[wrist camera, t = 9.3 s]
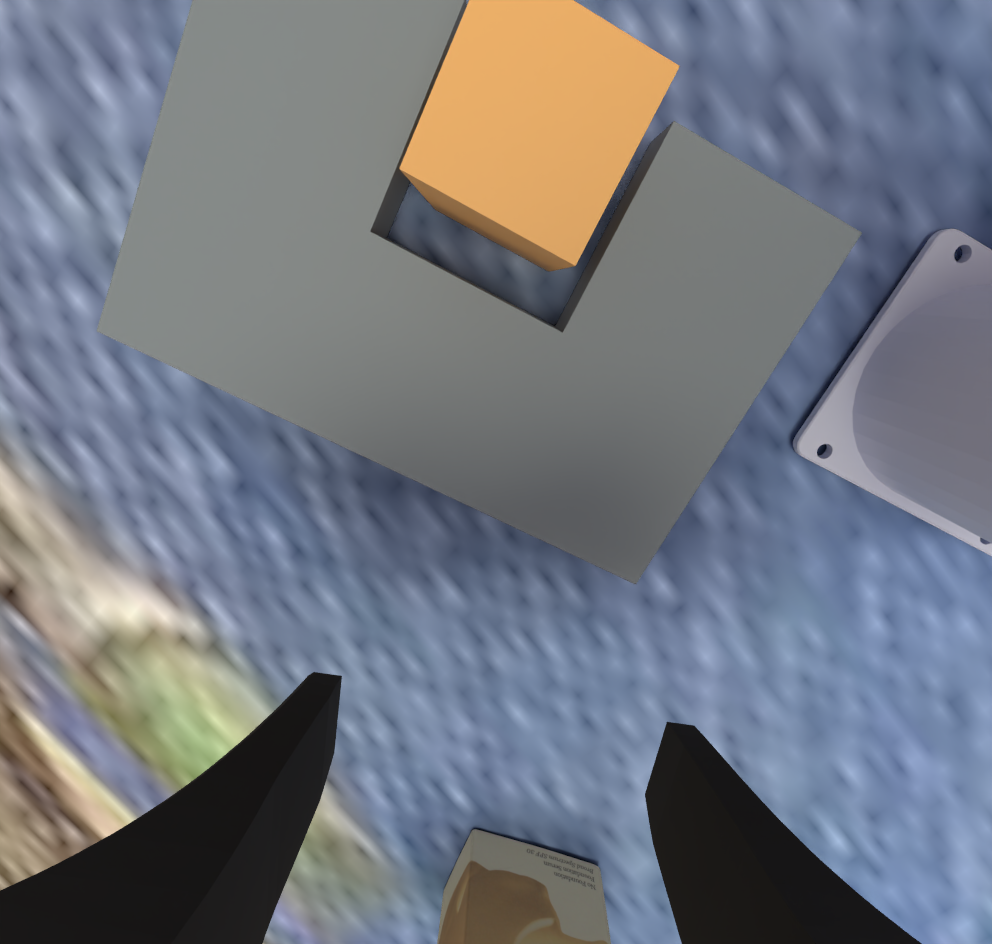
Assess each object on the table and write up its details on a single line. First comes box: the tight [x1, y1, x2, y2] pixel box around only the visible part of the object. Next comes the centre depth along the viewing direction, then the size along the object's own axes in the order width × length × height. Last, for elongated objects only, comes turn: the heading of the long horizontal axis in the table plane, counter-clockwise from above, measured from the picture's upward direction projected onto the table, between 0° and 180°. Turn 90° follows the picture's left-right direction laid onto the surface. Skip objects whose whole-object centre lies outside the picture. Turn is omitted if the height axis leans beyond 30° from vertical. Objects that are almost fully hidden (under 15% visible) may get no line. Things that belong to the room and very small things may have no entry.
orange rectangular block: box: [399, 0, 680, 272], centre depth 15 cm, size 4×4×7 cm
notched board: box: [97, 0, 862, 584], centre depth 18 cm, size 18×12×2 cm, turn 63°
